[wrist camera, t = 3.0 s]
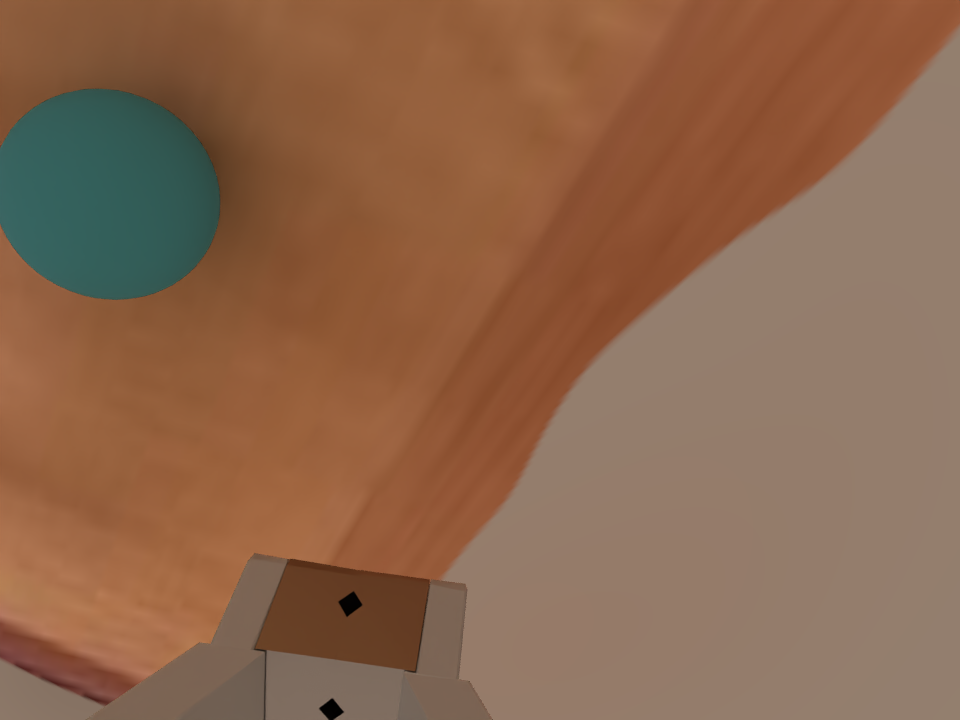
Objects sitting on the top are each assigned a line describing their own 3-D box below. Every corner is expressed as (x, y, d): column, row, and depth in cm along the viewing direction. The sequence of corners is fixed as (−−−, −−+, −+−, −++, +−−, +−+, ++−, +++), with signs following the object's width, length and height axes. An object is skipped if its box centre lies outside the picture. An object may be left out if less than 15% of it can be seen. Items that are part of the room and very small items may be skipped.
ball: (72, 242, 27) (-37, 316, 22) (52, 58, 25) (-79, 94, 19) (246, 268, 28) (178, 349, 22) (246, 89, 25) (169, 133, 19)
